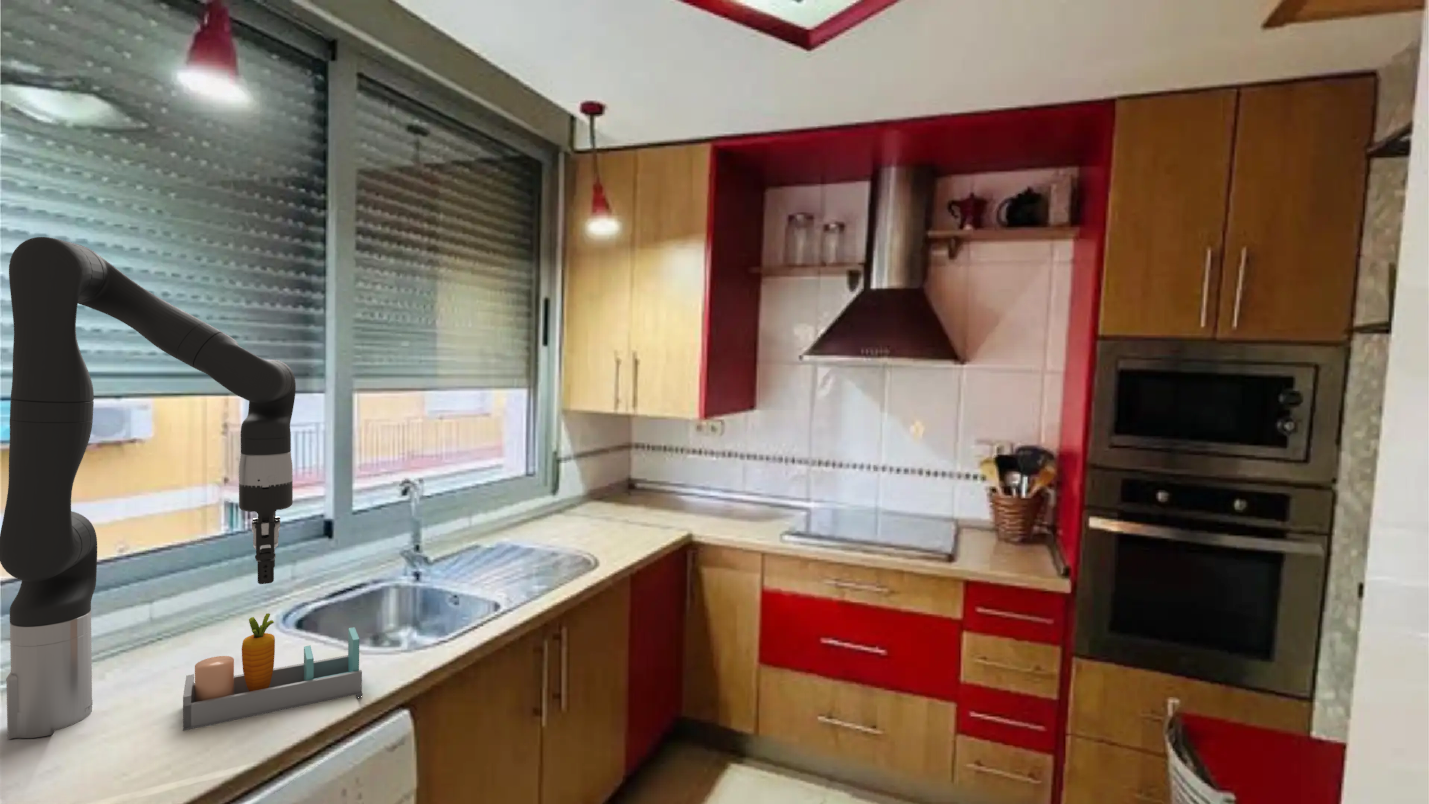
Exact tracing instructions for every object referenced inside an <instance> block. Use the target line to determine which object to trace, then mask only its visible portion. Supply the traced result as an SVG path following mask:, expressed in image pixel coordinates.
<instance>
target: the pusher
mask: <svg viewBox="0 0 1429 804" xmlns="http://www.w3.org/2000/svg"><path fill="white" fill-rule="evenodd" d="M347 635H348V638H347V639H348V640H347V641H348V642H347V645H348V646H347V655H348V672H345V673H349V672H354V671H359V670H360V637H359V634H358V632H357V630H356V627H355V626H354V627H349V628H348V633H347ZM314 661H315V660H314V654H313V649H312V646H311V645H304V646H303V663H304V681H307V680H312V679H313V673H314ZM340 674H343V673H340ZM335 675H338V674H335ZM330 676H333V675H330ZM325 677H328V676H325ZM319 678H323V677H319ZM314 679H318V678H314Z"/></svg>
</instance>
